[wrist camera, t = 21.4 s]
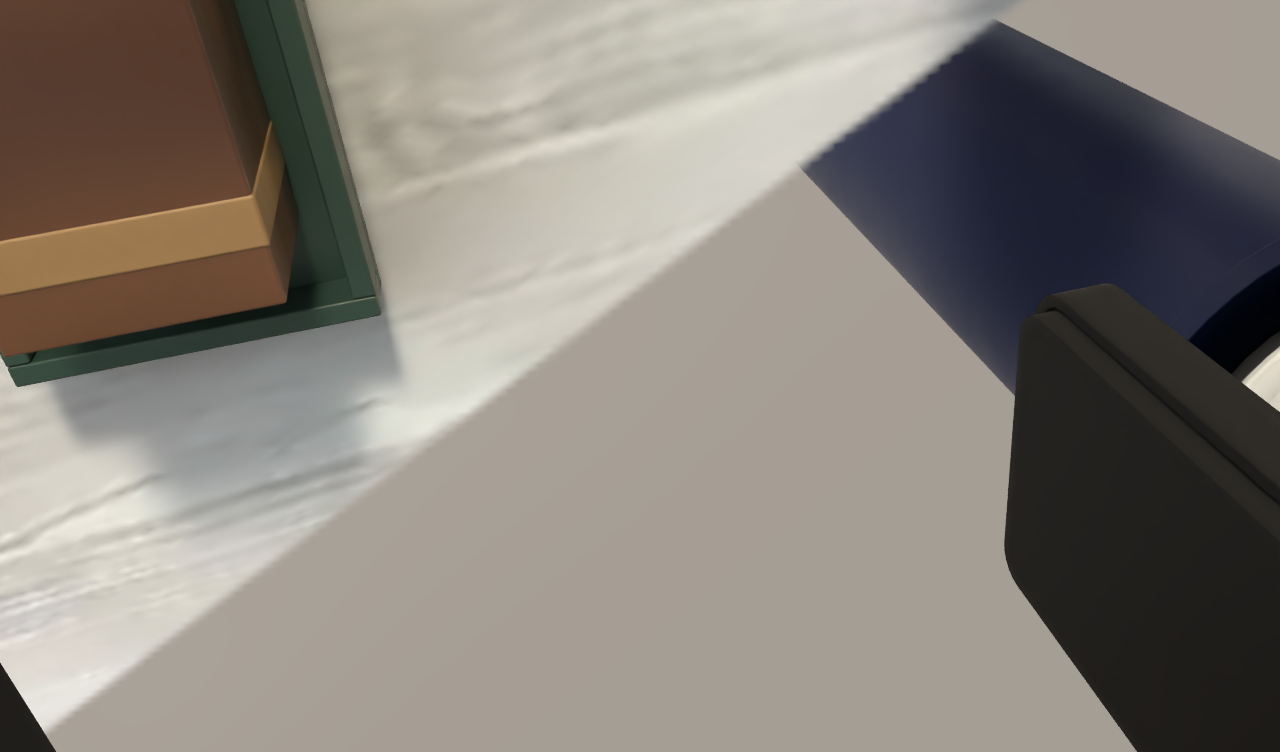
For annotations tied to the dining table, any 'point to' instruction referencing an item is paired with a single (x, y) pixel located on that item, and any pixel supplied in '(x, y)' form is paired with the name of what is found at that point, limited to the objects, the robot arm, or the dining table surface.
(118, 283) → the walnut box
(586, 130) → the dining table surface
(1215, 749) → the robot arm
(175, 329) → the tray
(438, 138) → the dining table surface
